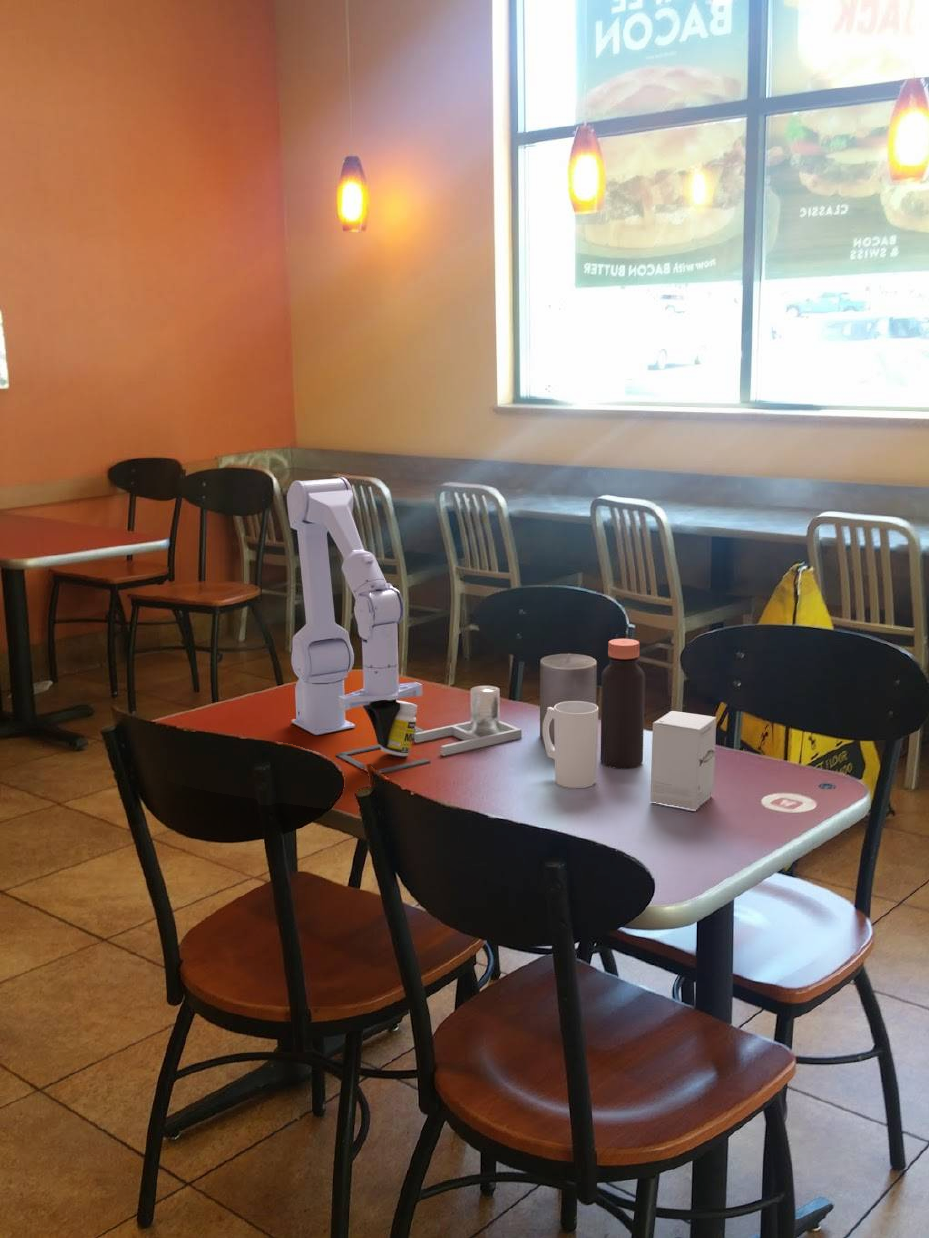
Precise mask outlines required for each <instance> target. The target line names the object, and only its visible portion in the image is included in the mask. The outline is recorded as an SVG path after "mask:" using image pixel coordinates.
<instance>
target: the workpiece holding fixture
mask: <svg viewBox="0 0 929 1238" xmlns="http://www.w3.org/2000/svg"><path fill="white" fill-rule="evenodd" d="M450 736H453V737H455V738H458V739H459V740H460V741H457V742H452V743H448V744H444V745H441V746H440V755H441V756H443V757H445V756H448V755H449V756H450V755H453V754H457V753H458V754H459V753H463V752H467V751H471V750H475V749H480V748H484V747H488V746H492V745H497V744H501V743H505V742H510V741H514V740H518V739H522V729H521V728H519V727H517V726H513V725H512V724H509V723H507V722H504V721H502V720H500V733H496V734H492V735H487V736H483V737H480V736H477V735H475V734H473V733H471V720H469V721H465V722H459V723H455V724H450V725H446V726H442V727H436V728H433V729H430V730H429V729H427V730H424V731H422V732H418V733H414V739H413V741H414V743H417V744H419V743H423V742H427V741H432V740H437V739H440V738H445V737H450Z"/></svg>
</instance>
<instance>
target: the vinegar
mask: <svg viewBox="0 0 929 1238" xmlns="http://www.w3.org/2000/svg"><path fill="white" fill-rule="evenodd" d="M640 644H641V643H640V641H639V640H636V639H632V638H615V639H611V640H609V641H608V643H607V645H608V647H607V655H608V659H609V664H608V665H607V666H606V667H605V668H604V669H603V671H602V672H601V693H600V694H601V695H600V696H601V701H600V702H601V706H600V714H601V715H600V762H601V764H603V765H604V764H605V766H606V765H607V766H606V767H609V766H610V768H613V767H615V768H614V769H621V768H622V769H632V768H631V767H634V768H636V766H637V767H639V766H641V765H642V764H641V763H643V761H644V732H645V731H644V730H645V729H644V726H645V725H644V724H645V723H644V722H645V719H644V718H645V685H646V684H645V683H646V679H645V678H646V673H645V672H644V670H643V669H642V668H641V667H640V665H638V661H639V659H640V646H641V645H640Z"/></svg>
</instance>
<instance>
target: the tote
mask: <svg viewBox="0 0 929 1238" xmlns="http://www.w3.org/2000/svg"><path fill="white" fill-rule="evenodd" d="M375 750H381V745H380V744H375V745H371V746H366V747H360V748H357V749H353V750H348V751H344V752H339V753H335V756H336V757H337V758H339V759H341V760H343V761H345V762H346V761H348V762H349V763H348V762H347V763H348V764H350V763H352V764H353V765H352V764H351V765H352V766H354V765H356V766H357V767H359V768H363V770H364V771H365V766H367V765H365V763H363V762H360V761H358V760H356V759H355V758H353V757H351V756H352V755H357V753H358V754H362V753H367V752H371V751H375ZM366 751H367V752H366ZM361 752H362V753H361ZM428 763H429V764H430V763H431V760H429V759H428V758H424V759H419V760H415V761H414V760H413V761H411V762H405V763H402V764H399V765H398V764H397V765H393V766H389V767H385V768H380V769H377V770H378V771H381V772H382V773H383V774H386V773H391V772H395V771H399V770H404V769H408V768H413V767H416V766H420V765H421V766H422V765H426V764H428ZM357 767H356V768H357ZM359 768H358V769H359ZM363 770H362V771H363ZM364 771H363V772H364Z"/></svg>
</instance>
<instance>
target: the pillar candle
mask: <svg viewBox="0 0 929 1238" xmlns="http://www.w3.org/2000/svg"><path fill="white" fill-rule="evenodd" d="M539 662H540V663H539V664H540V667H539V669H540V670H539V679H540V680H539V739H540V740H541V741H542V742H544V739H543V731H542V728H543V721H544V718H545V715H546V713H547V708H548V707H552V708H554V706H555V705H556V704H558V703H561V702H567V701H583V702H589V703H593V704H595V705H597V682H598V681H597V670H598V669H597V668H598V667H597V666H598V665H597V660H596V659H595V658H593V657H592V656H589V655H585V654H579V653H570V652H568V653H557V654H551V655H546V656H544V657H542V658H541V659H540V661H539ZM549 734H550V739H551V742H552V744H553V746H555V740H554V718H553V719H552V720H551V722H550V725H549Z"/></svg>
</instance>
